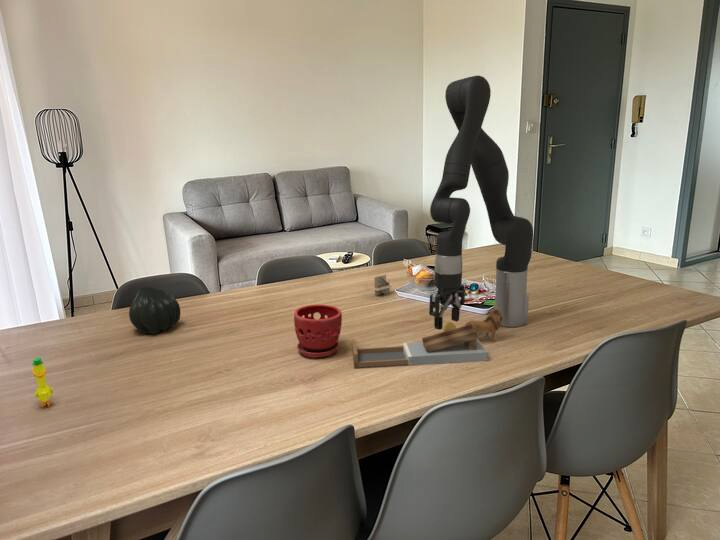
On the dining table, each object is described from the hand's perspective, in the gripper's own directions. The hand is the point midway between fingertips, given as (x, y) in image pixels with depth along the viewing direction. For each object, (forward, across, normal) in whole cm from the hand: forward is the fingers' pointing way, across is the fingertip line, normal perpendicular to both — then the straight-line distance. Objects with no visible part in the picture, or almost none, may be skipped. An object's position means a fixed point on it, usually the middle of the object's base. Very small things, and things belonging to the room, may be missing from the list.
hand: (446, 324), depth 154 cm
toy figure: (+7, +89, -52) cm, 103 cm away
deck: (+5, +8, +5) cm, 11 cm away
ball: (+1, 0, +1) cm, 1 cm away
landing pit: (+6, +21, -7) cm, 23 cm away
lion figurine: (+5, -7, +7) cm, 11 cm away
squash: (+7, +47, -78) cm, 92 cm away
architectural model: (+6, -23, -44) cm, 50 cm away
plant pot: (+6, +27, -24) cm, 37 cm away
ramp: (+3, +7, +6) cm, 10 cm away
